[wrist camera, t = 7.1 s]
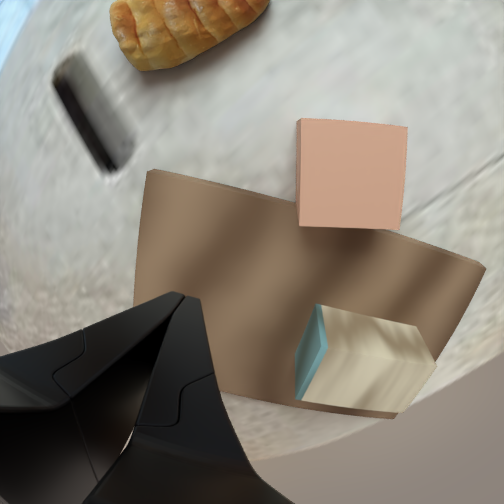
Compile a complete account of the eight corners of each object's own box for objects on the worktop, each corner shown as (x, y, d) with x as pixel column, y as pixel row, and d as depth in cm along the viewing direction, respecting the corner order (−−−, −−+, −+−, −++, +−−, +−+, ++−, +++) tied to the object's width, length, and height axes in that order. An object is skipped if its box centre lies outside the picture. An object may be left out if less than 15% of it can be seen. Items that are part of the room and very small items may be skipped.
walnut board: (478, 262, 19) (486, 268, 18) (391, 410, 26) (393, 419, 24) (154, 168, 19) (146, 171, 18) (137, 355, 26) (132, 363, 24)
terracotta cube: (377, 126, 17) (407, 127, 13) (373, 205, 19) (399, 229, 14) (296, 121, 18) (301, 118, 13) (295, 202, 20) (299, 226, 15)
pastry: (250, -45, 14) (243, -74, 10) (286, 33, 16) (286, 13, 12) (121, 7, 15) (93, -8, 12) (145, 85, 18) (117, 79, 14)
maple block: (315, 303, 21) (416, 326, 21) (294, 354, 22) (389, 371, 22) (321, 346, 16) (437, 366, 16) (295, 399, 18) (402, 413, 18)
